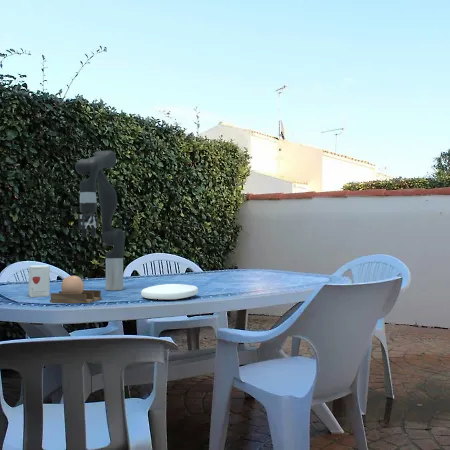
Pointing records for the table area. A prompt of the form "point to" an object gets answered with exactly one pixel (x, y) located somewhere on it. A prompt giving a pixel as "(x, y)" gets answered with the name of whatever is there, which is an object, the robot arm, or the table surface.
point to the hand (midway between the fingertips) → (88, 236)
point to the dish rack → (76, 297)
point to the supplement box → (39, 280)
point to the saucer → (72, 285)
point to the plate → (169, 291)
